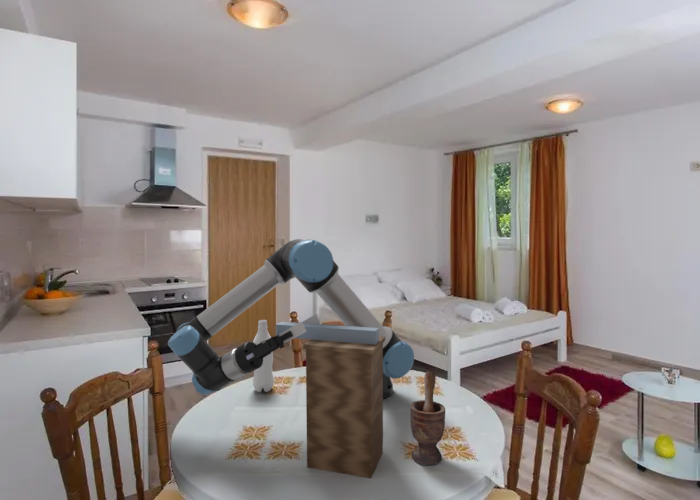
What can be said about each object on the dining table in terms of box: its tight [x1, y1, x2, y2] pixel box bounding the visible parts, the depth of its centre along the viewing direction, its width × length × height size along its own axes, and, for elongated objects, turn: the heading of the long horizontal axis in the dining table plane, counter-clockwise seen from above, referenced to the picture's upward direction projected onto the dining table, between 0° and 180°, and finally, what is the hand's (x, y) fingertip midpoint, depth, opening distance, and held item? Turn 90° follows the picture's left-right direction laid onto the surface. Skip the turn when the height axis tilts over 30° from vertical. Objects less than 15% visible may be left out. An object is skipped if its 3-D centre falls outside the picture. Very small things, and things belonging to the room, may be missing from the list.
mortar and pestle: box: [409, 371, 446, 466], centre depth 109 cm, size 12×9×20 cm
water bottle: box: [252, 319, 275, 393], centre depth 153 cm, size 7×7×25 cm
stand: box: [302, 336, 385, 479], centre depth 106 cm, size 17×13×30 cm
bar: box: [275, 321, 379, 344], centre depth 107 cm, size 26×3×3 cm, turn 73°
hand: (311, 322), depth 108 cm, fingers open, 9 cm apart
